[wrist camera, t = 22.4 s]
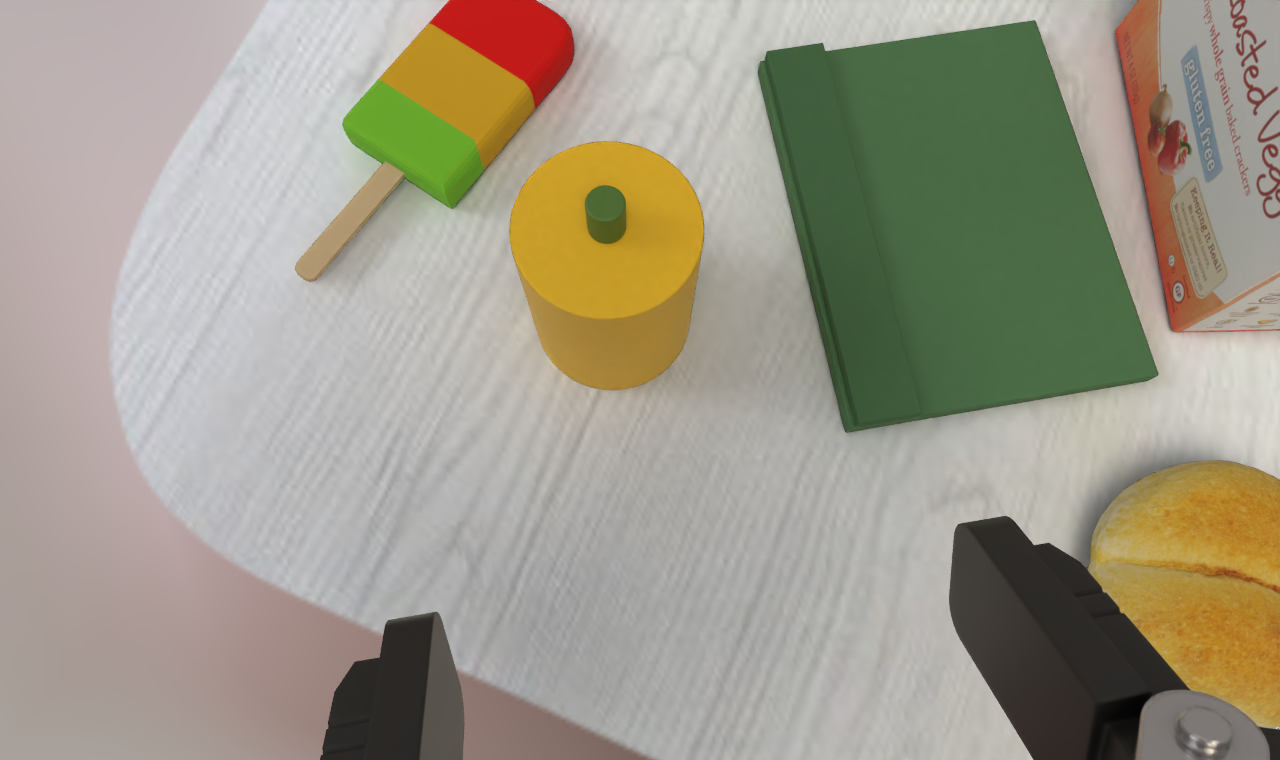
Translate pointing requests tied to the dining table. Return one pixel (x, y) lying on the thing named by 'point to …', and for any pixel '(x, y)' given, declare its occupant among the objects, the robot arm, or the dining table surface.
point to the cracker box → (1210, 154)
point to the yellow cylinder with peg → (609, 261)
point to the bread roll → (1201, 576)
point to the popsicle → (448, 107)
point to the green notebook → (948, 226)
